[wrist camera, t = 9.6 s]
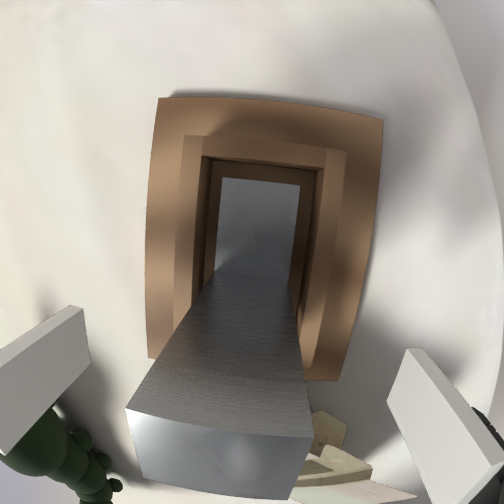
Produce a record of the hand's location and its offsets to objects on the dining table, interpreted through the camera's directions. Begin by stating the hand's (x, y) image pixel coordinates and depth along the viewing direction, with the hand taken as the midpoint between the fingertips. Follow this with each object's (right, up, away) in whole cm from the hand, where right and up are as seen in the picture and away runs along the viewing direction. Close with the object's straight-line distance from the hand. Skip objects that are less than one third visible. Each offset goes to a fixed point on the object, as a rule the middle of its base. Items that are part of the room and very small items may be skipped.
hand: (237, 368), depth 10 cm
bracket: (+1, +4, +7) cm, 8 cm away
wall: (+4, -13, +12) cm, 18 cm away
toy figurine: (-20, -17, +14) cm, 30 cm away
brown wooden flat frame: (+1, +5, +8) cm, 9 cm away
